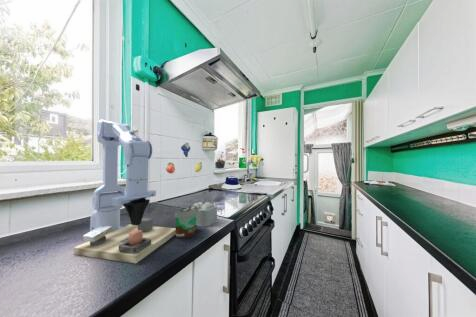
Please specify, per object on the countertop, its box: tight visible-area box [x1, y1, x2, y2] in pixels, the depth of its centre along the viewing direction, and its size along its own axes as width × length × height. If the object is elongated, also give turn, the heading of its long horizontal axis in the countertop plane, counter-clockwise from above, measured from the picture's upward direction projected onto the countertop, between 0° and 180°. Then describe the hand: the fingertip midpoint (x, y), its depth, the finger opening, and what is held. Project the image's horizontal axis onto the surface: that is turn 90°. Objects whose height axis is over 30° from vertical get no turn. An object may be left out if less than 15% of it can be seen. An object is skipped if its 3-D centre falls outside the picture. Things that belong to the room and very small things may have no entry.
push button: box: [129, 230, 143, 245], centre depth 50 cm, size 4×4×3 cm
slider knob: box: [138, 217, 154, 231], centre depth 63 cm, size 4×3×4 cm
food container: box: [173, 204, 199, 239], centre depth 65 cm, size 12×6×10 cm, turn 168°
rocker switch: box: [82, 225, 113, 242], centre depth 53 cm, size 4×6×2 cm, turn 168°
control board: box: [72, 223, 176, 264], centre depth 57 cm, size 22×20×4 cm
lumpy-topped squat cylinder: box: [193, 201, 218, 227], centre depth 79 cm, size 10×13×9 cm
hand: (136, 224), depth 50 cm, fingers closed
